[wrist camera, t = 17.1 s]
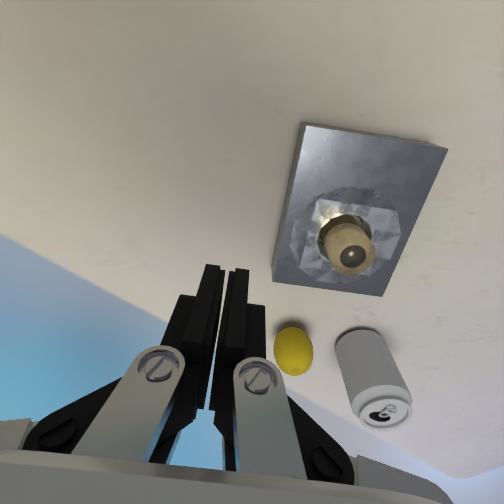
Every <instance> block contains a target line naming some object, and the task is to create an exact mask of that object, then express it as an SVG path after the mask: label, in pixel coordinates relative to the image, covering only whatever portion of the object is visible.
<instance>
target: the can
mask: <svg viewBox="0 0 504 504" xmlns="http://www.w3.org/2000/svg"><path fill="white" fill-rule="evenodd" d="M335 352H336V355H337V359H338V362H339V366H340V369H341V373H342V376H343V380H344V383H345V387H346V391H347V394H348V398H349V401H350V405H351V408H352V411H353V413H354V414H355V415H356V416H357V417H358V418H360V421H361V423H362V424H363V425H364V426H366V427H368V428H370V429H373V430H378V431H380V430H391V429H395V428H398V427H400V426H402V425H404V424H405V423H407V421H408V420H409V419H410V418H411V415H412V409H411V404H412V397H411V394H410V392H409V390H408V388H407V386H406V384H405V382H404V380H403V378H402V376H401V374H400V372H399V370H398V368H397V365H396V363H395V361H394V359H393V357H392V355H391V353H390V351H389V349H388V347H387V345H386V343H385V341H384V339H383V338H382V337H381V335H380V334H378V333H376V332H374V331H370V330H354V331H351V332H349V333H347V334H345V335H344V336H343V337H342V338H341V339H340V340H339V341H338V343H337V345H336V350H335Z"/></svg>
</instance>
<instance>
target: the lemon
mask: <svg viewBox="0 0 504 504" xmlns="http://www.w3.org/2000/svg"><path fill="white" fill-rule="evenodd" d="M274 356H275V359H276V362H277V365H278V366H279V368H280V369H281V370H282V371H283V372H285V373H286V374H288V375H292V376H297V375H301V374H303V373H305V372H306V371H307V370H308V369H309V368H310V366H311V364H312V360H313V346H312V343H311V340H310V338H309V336H308V335H307V334H306V333H305V332H304V331H303V330H301V329H299V328H296V327H288V328H285V329H283V330H282V331H280V332H279V334H278V335H277V336H276V339H275V341H274Z"/></svg>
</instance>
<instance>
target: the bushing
mask: <svg viewBox="0 0 504 504" xmlns="http://www.w3.org/2000/svg"><path fill="white" fill-rule="evenodd" d="M319 234H320V237H321V239H322V242H323V244H324V247H325V249H326V252H327V254H328V257H329V259H330V262H331V264H332V266H333V268H334V269H335V270H336V271H337V272H339V273H341V274H345V275H355V274H359V273H361V272H363V271H365V270H366V269H368V268H369V267H370V266H371V265H372V263H373V261H374V259H375V255H376V251H375V247H374V245H373V244H372V242H371V241H370V239H369V238H368V237H367V235H366V234H365V233H364V231H363V230H362V228H361V227H360V226H359V224H358V223H357V221H356V220H355V219H354V217H353V216H352V215H350V214H343V215H340V216H337V217H335V218H332V219H330V220H329V221H328V222H327V223H326V224H325V225H324V226H323V227H322V228H321V229H320V232H319Z"/></svg>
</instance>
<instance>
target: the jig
mask: <svg viewBox="0 0 504 504" xmlns="http://www.w3.org/2000/svg"><path fill="white" fill-rule="evenodd" d="M447 151H448V149H447V148H444V147H441V146H438V145H435V144H432V143H428V142H423V141H417V140H411V139H404V138H398V137H392V136H386V135H380V134H374V133H368V132H362V131H356V130H350V129H344V128H338V127H332V126H325V125H319V124H313V123H307V122H301V126H300V131H299V135H298V140H297V145H296V150H295V154H294V159H293V164H292V169H291V174H290V178H289V183H288V188H287V193H286V197H285V202H284V207H283V212H282V216H281V221H280V226H279V231H278V236H277V240H276V245H275V250H274V255H273V259H272V264H271V267H272V282H278V283H285V284H293V285H300V286H307V287H314V288H322V289H329V290H336V291H343V292H351V293H358V294H365V295H372V296H380V297H382V296H383V294H384V292H385V290H386V287H387V285H388V283H389V281H390V279H391V276H392V274H393V272H394V270H395V267H396V265H397V263H398V261H399V258H400V256H401V254H402V252H403V249H404V247H405V245H406V243H407V241H408V238H409V236H410V234H411V232H412V229H413V227H414V225H415V223H416V220H417V218H418V216H419V214H420V212H421V209H422V207H423V205H424V203H425V200H426V198H427V196H428V194H429V191H430V189H431V187H432V185H433V182H434V180H435V178H436V176H437V174H438V171H439V169H440V167H441V165H442V162H443V160H444V158H445V156H446V153H447ZM343 214H350V215H356V216H360V217H361V221H362V224H361V228H362V230H363V231H364V233H365V234H366V235H367V237H368V238H369V239H370V241H371V242H372V244H373V245H374V247H375V251H376V255H375V259H374V261H373V263H372V265H371V266H370V267H369V268H368V269H366V270H365V271H363V272H361V273H359V274H355V275H345V274H341V273H339V272H337V271H336V270H335V269H334V268H333V266H332V264H331V262H330V259H329V257H328V254H327V252H326V249H325V247H324V245H323V244H321V243H320V242H319V241H318V240H317V239H318V235H319V232H320V229H321V228H322V227H323V226H324V225H325V224H326V223H327V222H328V221H329V220H330V219H332V218H335V217H337V216H340V215H343Z"/></svg>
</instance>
